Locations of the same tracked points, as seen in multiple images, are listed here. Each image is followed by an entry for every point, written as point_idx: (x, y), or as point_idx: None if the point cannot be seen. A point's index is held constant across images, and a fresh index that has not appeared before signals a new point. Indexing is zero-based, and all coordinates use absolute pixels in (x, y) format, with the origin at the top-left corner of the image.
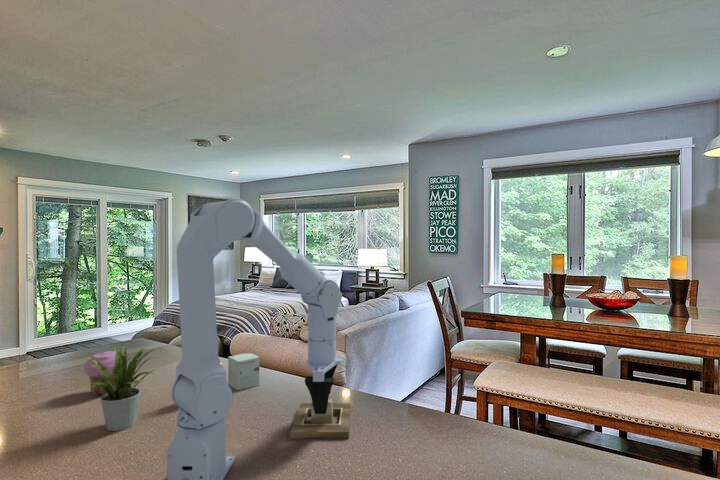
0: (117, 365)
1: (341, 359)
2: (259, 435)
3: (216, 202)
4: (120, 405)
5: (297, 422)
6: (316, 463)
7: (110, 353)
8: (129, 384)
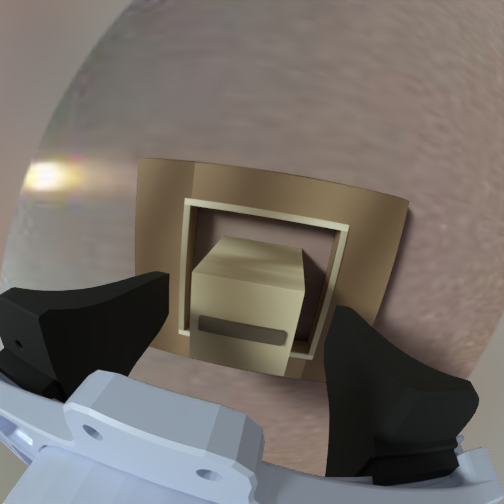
0: None
1: (124, 432)
2: (301, 425)
3: None
4: None
5: (288, 368)
6: (480, 305)
7: None
8: None
